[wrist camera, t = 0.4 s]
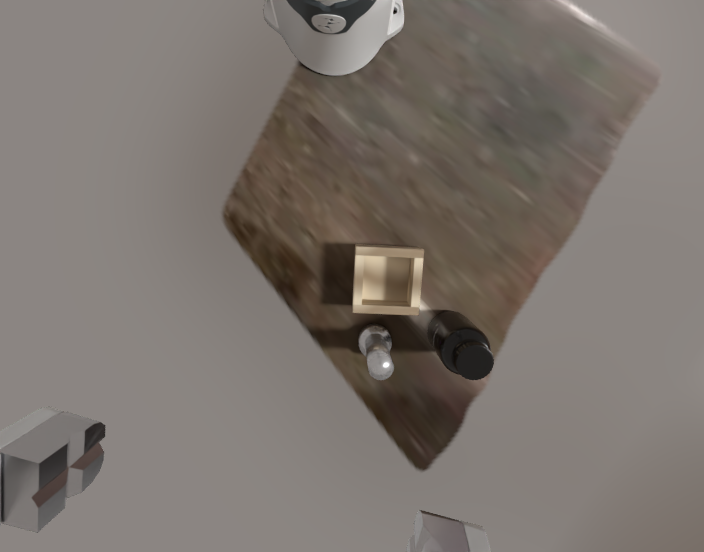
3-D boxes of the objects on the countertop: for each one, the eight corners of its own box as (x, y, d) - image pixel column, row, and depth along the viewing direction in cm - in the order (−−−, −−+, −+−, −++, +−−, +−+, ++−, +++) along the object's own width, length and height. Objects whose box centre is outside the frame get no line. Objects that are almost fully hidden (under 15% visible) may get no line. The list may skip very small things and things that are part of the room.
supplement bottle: (419, 322, 56) (438, 350, 44) (458, 302, 55) (489, 325, 44) (437, 359, 57) (461, 396, 45) (476, 340, 56) (511, 372, 45)
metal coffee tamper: (359, 322, 56) (362, 348, 45) (391, 324, 56) (402, 349, 45) (357, 353, 56) (360, 385, 46) (389, 354, 57) (399, 387, 46)
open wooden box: (355, 244, 54) (356, 246, 49) (417, 246, 54) (424, 249, 49) (352, 305, 55) (352, 312, 51) (413, 307, 55) (418, 315, 51)
